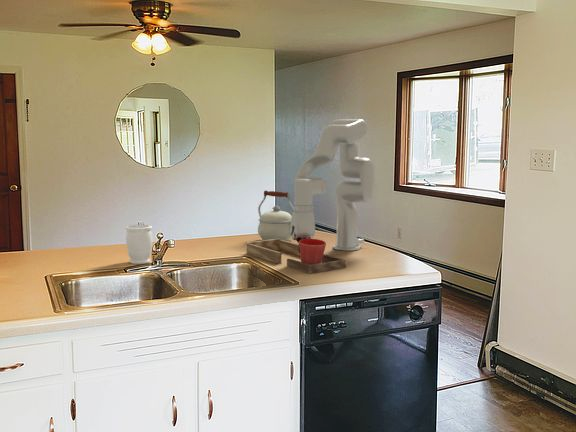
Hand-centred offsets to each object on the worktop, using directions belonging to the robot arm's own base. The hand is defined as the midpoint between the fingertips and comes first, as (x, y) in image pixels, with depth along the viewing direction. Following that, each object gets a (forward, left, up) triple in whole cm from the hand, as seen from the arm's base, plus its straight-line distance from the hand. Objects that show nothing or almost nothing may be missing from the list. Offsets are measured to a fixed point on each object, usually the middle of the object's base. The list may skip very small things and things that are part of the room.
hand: (302, 252), depth 245 cm
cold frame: (0, -17, -4) cm, 17 cm away
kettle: (-20, -45, -5) cm, 49 cm away
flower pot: (0, +6, -4) cm, 7 cm away
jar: (+55, -39, -5) cm, 67 cm away
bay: (0, +8, -4) cm, 9 cm away
